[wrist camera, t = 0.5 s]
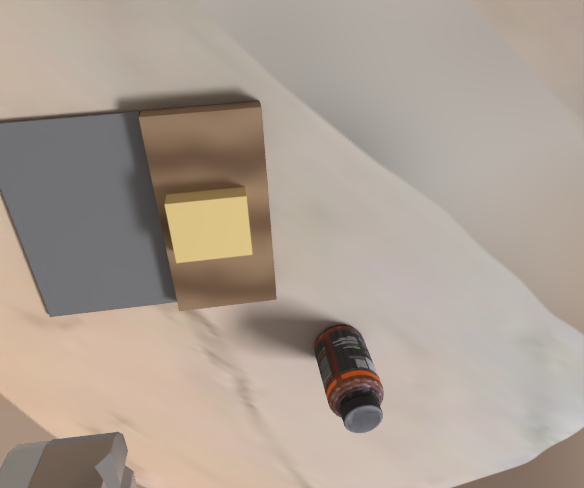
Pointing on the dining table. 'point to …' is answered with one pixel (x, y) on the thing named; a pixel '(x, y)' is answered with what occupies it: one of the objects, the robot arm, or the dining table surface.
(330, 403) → the supplement bottle
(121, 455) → the robot arm
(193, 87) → the dining table surface
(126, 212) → the mat
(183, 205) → the pale yellow flat block
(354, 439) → the dining table surface
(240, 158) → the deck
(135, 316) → the dining table surface
